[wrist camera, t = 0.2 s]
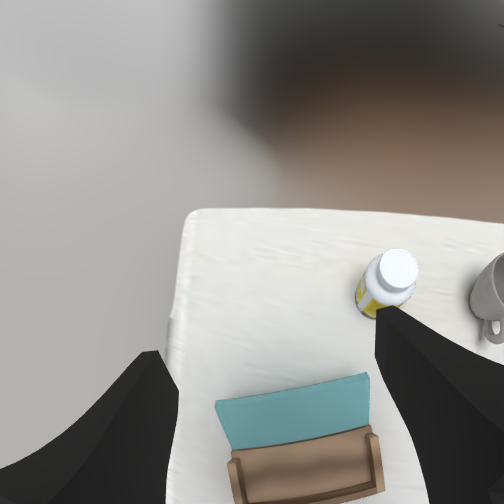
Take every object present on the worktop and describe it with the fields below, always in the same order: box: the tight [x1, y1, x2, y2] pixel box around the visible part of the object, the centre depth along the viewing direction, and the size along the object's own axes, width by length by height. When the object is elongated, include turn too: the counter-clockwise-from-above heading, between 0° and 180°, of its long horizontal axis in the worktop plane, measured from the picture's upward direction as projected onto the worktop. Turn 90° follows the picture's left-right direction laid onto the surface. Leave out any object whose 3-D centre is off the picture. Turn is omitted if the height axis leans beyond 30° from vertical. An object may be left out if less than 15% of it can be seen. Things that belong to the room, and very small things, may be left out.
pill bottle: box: [355, 248, 418, 319], centre depth 36 cm, size 6×6×12 cm
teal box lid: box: [215, 372, 370, 450], centre depth 32 cm, size 1×17×8 cm
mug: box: [470, 253, 504, 344], centre depth 32 cm, size 12×9×10 cm
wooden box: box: [227, 424, 385, 504], centre depth 30 cm, size 9×18×5 cm, turn 99°
